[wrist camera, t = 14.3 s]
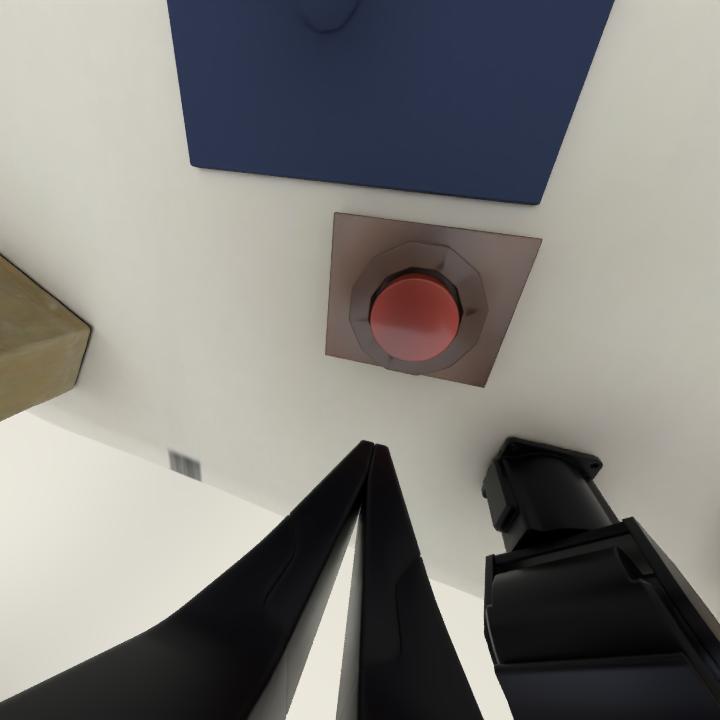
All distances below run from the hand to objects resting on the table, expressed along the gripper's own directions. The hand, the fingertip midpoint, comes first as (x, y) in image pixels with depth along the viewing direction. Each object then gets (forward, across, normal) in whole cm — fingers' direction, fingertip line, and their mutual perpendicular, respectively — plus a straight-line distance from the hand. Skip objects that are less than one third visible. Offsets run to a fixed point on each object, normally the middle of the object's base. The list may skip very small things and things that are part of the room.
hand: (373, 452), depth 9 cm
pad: (+11, +5, -14) cm, 19 cm away
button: (+9, -1, -2) cm, 9 cm away
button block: (+11, 0, -2) cm, 12 cm away
